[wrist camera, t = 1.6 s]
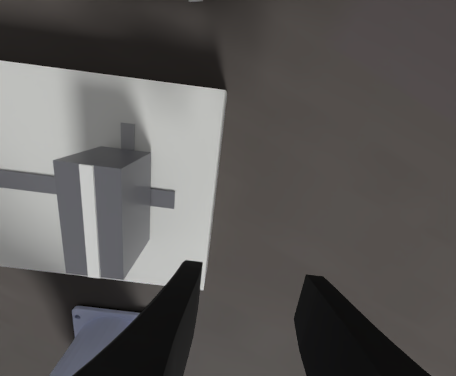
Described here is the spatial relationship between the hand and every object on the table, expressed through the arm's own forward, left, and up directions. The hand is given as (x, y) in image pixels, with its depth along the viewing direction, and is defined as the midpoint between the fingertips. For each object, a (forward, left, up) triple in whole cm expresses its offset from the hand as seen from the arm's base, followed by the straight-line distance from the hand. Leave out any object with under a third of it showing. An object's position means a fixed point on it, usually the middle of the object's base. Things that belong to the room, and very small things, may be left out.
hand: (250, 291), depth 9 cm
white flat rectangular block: (0, +15, -10) cm, 18 cm away
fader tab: (0, +7, -7) cm, 10 cm away
